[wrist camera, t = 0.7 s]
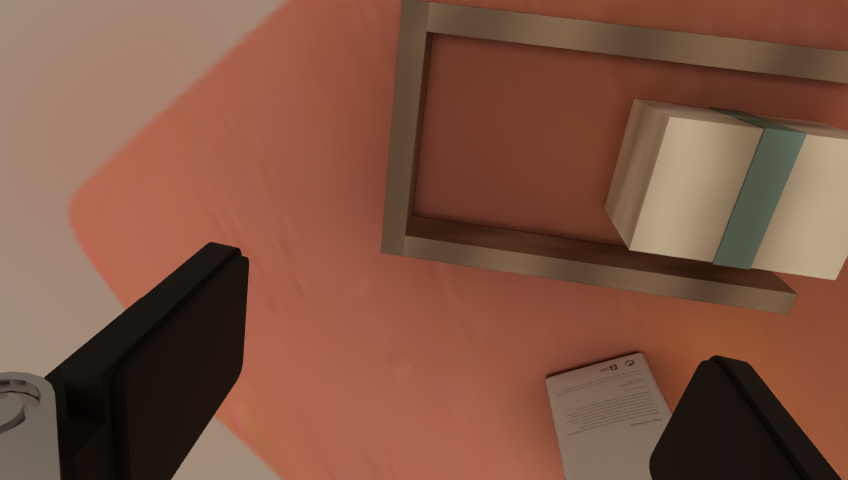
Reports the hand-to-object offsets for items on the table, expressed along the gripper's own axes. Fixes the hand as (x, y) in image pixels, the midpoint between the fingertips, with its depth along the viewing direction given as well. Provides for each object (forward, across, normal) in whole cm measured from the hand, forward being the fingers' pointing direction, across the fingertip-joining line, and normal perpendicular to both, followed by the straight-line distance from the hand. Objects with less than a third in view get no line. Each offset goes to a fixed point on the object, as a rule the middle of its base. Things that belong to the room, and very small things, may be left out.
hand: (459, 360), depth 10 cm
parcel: (+18, -12, -2) cm, 22 cm away
